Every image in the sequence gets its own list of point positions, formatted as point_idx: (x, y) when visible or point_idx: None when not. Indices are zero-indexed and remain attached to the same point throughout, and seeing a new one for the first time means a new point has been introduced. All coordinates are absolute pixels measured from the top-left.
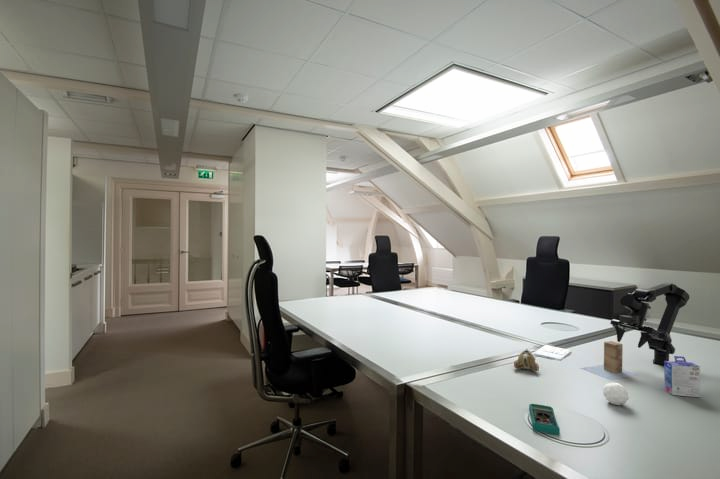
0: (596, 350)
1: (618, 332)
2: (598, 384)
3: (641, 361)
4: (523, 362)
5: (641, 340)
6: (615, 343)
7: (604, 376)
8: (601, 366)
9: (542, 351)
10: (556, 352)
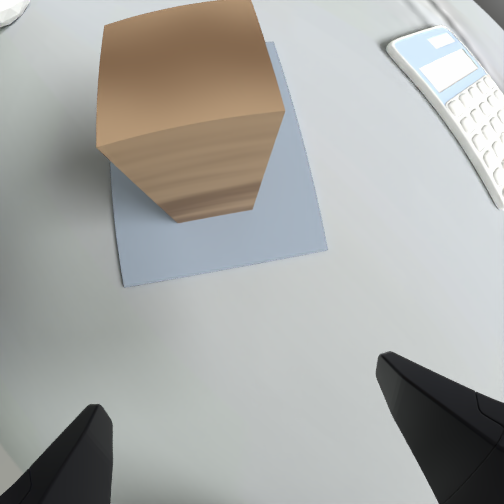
0: (500, 375)
1: (481, 423)
2: (101, 18)
3: (334, 495)
4: None
5: (33, 471)
6: (146, 63)
7: None
8: (288, 168)
9: (473, 70)
10: (466, 96)
